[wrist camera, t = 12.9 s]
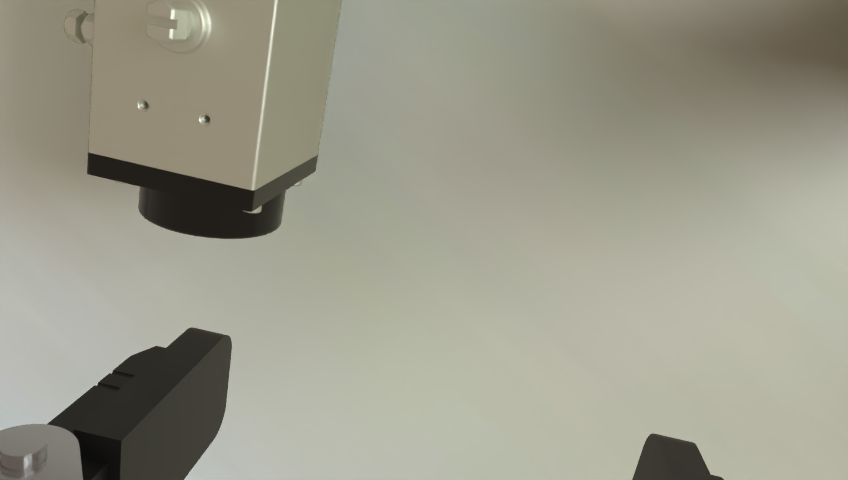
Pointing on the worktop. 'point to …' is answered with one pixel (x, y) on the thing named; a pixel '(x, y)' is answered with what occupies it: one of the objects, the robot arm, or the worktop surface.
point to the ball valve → (208, 105)
